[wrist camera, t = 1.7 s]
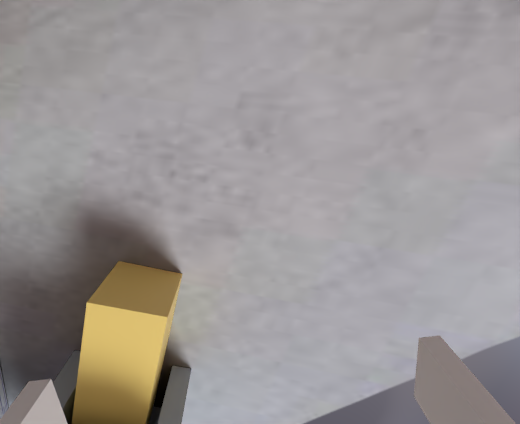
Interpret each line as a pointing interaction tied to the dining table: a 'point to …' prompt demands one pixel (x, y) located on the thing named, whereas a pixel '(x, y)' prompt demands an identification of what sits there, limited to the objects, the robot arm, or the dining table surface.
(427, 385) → the robot arm
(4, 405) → the medicine box
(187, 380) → the tall grey box
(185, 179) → the dining table surface
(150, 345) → the mustard yellow carton
